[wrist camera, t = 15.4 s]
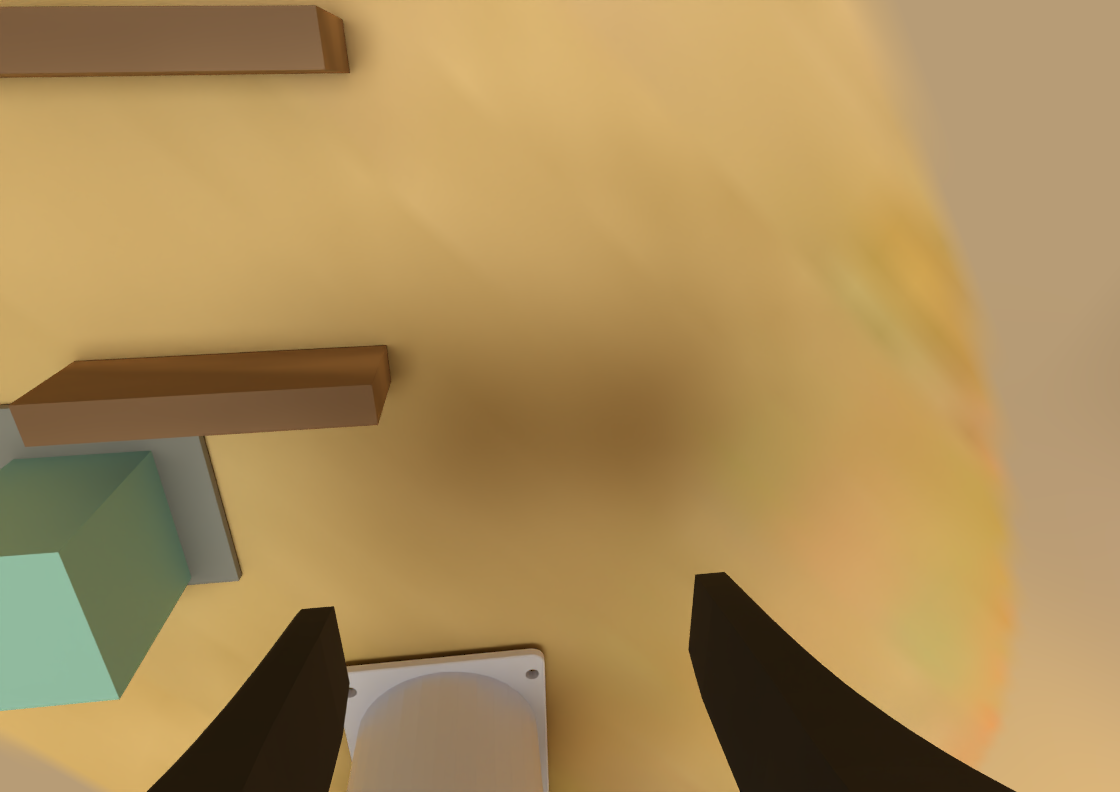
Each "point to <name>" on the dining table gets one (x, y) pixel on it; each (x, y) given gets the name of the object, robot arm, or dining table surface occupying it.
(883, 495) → the dining table surface
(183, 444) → the mat
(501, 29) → the dining table surface
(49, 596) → the block
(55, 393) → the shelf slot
